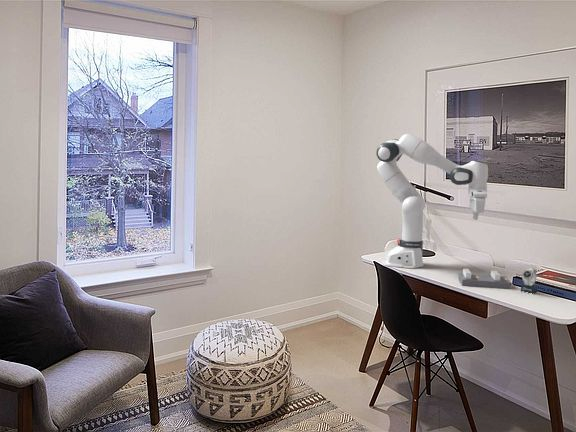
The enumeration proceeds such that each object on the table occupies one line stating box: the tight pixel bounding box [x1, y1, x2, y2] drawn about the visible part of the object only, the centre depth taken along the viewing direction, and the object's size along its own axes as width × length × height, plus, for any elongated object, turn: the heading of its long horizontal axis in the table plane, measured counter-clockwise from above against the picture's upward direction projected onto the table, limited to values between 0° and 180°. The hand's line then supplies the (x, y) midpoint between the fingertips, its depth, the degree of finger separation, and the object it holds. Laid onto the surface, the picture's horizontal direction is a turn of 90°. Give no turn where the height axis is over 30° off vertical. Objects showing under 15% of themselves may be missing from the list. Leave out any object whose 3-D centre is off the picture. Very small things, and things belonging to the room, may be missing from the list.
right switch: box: [490, 270, 501, 281], centre depth 236 cm, size 2×9×3 cm, turn 169°
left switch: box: [462, 268, 472, 279], centre depth 239 cm, size 2×9×3 cm, turn 169°
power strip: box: [457, 272, 513, 290], centre depth 238 cm, size 22×12×3 cm, turn 79°
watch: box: [520, 267, 539, 295], centre depth 225 cm, size 6×8×11 cm
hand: (475, 219), depth 251 cm, fingers closed
